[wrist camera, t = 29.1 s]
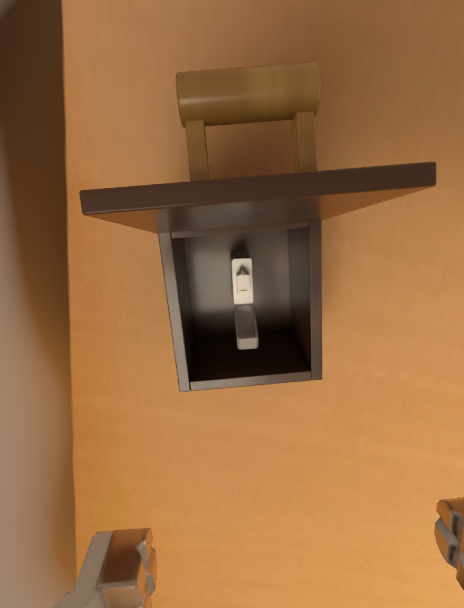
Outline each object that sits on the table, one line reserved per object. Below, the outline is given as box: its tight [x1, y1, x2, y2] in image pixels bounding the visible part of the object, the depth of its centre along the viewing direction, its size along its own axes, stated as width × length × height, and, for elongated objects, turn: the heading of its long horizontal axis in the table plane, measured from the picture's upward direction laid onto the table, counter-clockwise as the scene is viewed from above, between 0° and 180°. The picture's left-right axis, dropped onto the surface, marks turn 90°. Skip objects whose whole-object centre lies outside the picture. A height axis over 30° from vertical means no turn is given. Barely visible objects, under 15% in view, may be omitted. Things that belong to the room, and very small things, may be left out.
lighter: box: [230, 250, 258, 349], centre depth 34 cm, size 7×2×8 cm, turn 3°
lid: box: [80, 62, 436, 234], centre depth 19 cm, size 14×12×5 cm
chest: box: [158, 220, 322, 392], centre depth 34 cm, size 13×12×10 cm
